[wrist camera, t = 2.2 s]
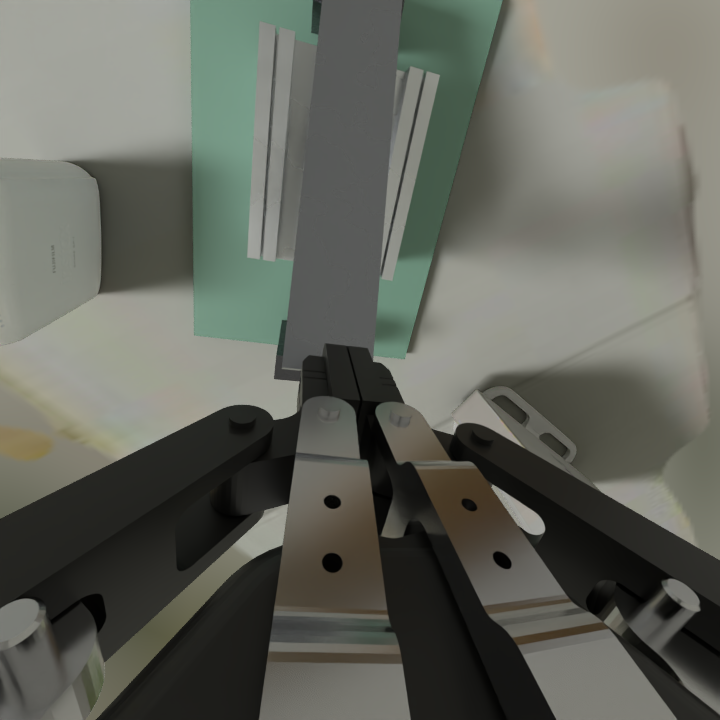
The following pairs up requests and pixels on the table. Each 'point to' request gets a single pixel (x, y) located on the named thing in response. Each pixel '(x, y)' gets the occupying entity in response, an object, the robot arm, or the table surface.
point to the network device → (519, 440)
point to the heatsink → (288, 146)
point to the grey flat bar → (344, 180)
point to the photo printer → (46, 243)
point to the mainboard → (235, 151)
